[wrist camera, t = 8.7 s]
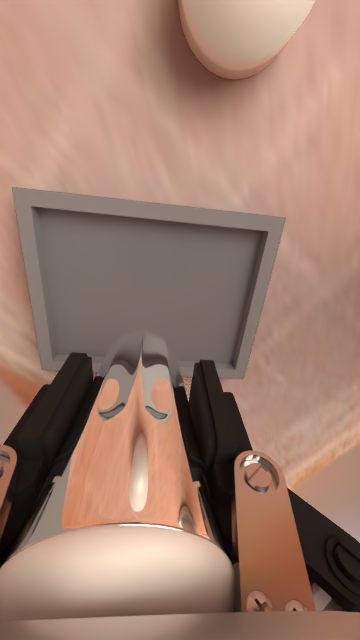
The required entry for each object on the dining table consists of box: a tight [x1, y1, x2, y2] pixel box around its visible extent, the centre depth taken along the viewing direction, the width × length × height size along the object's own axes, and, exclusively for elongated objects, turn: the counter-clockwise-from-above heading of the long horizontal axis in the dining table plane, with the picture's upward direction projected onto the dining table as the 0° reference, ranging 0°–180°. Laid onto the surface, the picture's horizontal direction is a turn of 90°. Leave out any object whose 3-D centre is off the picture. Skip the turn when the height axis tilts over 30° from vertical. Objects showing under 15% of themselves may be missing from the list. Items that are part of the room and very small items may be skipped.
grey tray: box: [12, 187, 286, 379], centre depth 20 cm, size 18×14×2 cm
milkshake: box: [0, 330, 236, 621], centre depth 7 cm, size 4×5×10 cm
